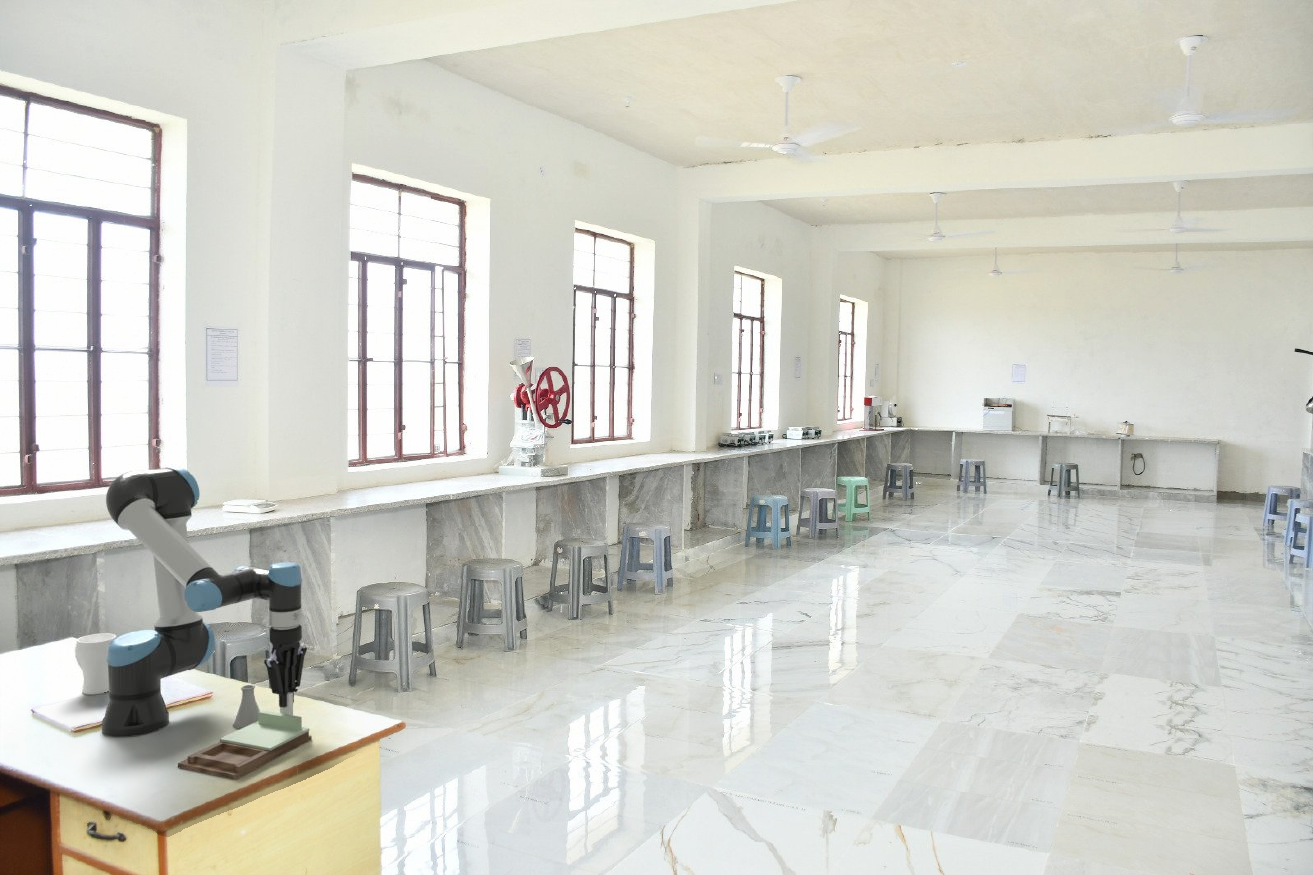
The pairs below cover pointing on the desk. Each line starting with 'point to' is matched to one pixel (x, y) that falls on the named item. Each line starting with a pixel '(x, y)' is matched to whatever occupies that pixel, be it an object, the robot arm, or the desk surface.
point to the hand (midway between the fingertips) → (286, 718)
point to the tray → (236, 757)
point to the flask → (247, 708)
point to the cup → (94, 661)
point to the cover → (268, 731)
